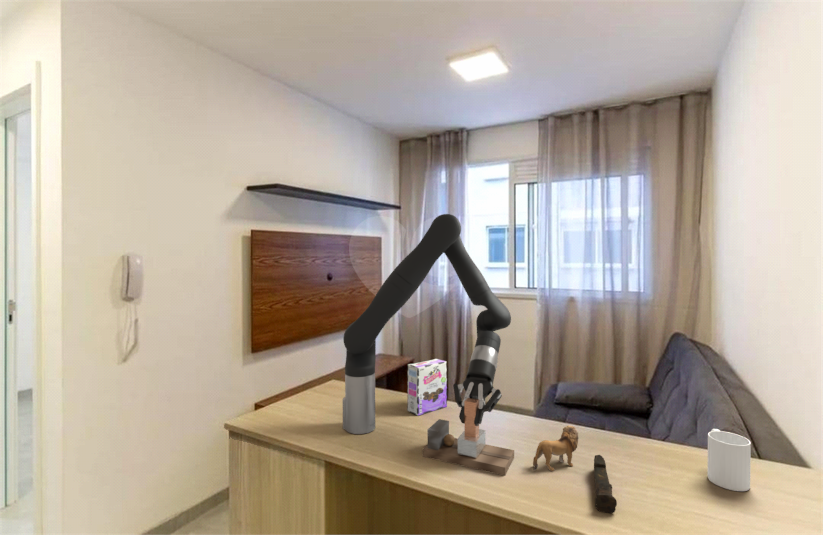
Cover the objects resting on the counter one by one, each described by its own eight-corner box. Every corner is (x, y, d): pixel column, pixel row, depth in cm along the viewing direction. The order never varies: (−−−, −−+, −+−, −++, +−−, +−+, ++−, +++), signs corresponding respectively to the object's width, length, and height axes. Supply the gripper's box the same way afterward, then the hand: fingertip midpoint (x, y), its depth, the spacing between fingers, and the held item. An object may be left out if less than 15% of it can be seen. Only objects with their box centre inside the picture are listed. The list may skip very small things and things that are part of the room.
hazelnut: (441, 446, 110) (441, 435, 110) (446, 442, 112) (446, 431, 112) (452, 448, 108) (452, 437, 108) (456, 444, 111) (456, 433, 111)
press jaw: (457, 453, 105) (457, 403, 105) (467, 441, 112) (467, 394, 112) (476, 457, 103) (476, 406, 102) (485, 444, 110) (485, 396, 110)
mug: (757, 494, 90) (758, 447, 90) (715, 489, 92) (716, 443, 92) (731, 467, 102) (732, 425, 102) (695, 463, 104) (695, 422, 104)
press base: (422, 456, 108) (422, 430, 108) (437, 441, 117) (437, 417, 117) (505, 475, 99) (505, 447, 98) (514, 457, 107) (514, 431, 107)
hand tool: (616, 516, 83) (616, 494, 83) (595, 512, 85) (595, 490, 85) (610, 472, 101) (610, 453, 100) (592, 469, 102) (593, 450, 102)
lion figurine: (567, 454, 109) (567, 421, 109) (584, 463, 105) (584, 428, 104) (526, 468, 102) (526, 432, 102) (542, 477, 98) (542, 440, 97)
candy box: (417, 416, 136) (417, 367, 136) (406, 411, 141) (406, 363, 140) (447, 406, 145) (447, 360, 145) (436, 402, 149) (436, 357, 149)
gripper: (456, 355, 117) (440, 412, 106) (505, 360, 111) (493, 421, 100) (462, 369, 122) (447, 425, 111) (509, 375, 115) (498, 434, 105)
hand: (469, 423), depth 105 cm, fingers closed on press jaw, 3 cm apart
